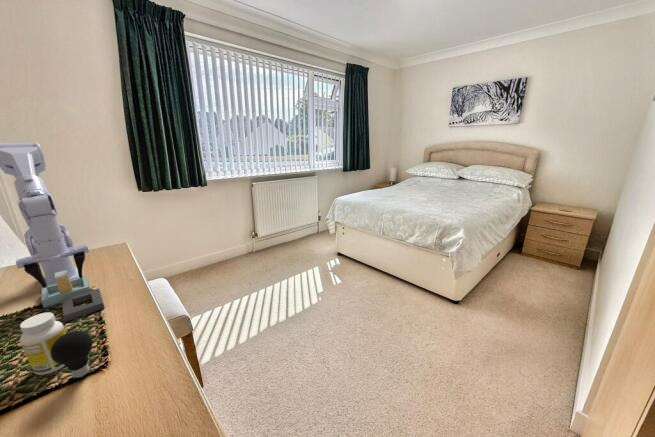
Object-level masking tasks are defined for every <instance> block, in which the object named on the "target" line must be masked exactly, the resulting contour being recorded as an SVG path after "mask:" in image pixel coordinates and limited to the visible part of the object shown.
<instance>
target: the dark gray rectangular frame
mask: <svg viewBox="0 0 655 437" xmlns="http://www.w3.org/2000/svg"><path fill="white" fill-rule="evenodd" d="M91 300H92V302H90V303H87V304H84V305H81V306H78V307H75V305H79V304H82V303H85V302H88V301H91ZM61 305H62V317H63V320H64V322H69V321H72V320H75V319H78V318H81V317H83V316H86V315H90V314H92V313H96V312H98V311H100V310H104V309H105V304H104V302H103V297H102V294H101V291H100V288H96V289H93V290H92V289H91V290H90V291H88V292H85V293H82V294H78V295H75V296H72V297H68V298H65V299H62V303H61Z"/></svg>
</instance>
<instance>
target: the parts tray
mask: <svg viewBox="0 0 655 437" xmlns="http://www.w3.org/2000/svg"><path fill="white" fill-rule="evenodd" d="M82 276H83V277H82V278H79V277H78V278H75V279H72V280H70V281H71V284H72V287H73V290H71V291H68V292H64V293H61V294H60V292H59V289H58V286H57V284H53V285H50V286H47V287H46V288H43V287H42V286H41V296H40V301H41V304H42V306H43V307H42V308H43V309H47V308H51V307H54V306H57V305H60V304H62V299H65V298H68V297H72V296H75V295H78V294H82V293H85V292H88V291H91V287H90V282H89V279H88V276H87V275H82Z"/></svg>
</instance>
